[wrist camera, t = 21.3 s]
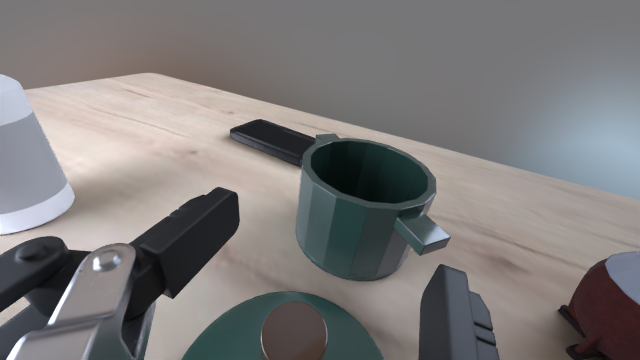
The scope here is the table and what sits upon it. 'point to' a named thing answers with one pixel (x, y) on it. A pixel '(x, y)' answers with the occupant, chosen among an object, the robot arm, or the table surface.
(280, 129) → the phone
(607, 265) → the mate gourd
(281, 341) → the lid
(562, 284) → the table surface
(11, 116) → the white bottle
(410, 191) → the pot
